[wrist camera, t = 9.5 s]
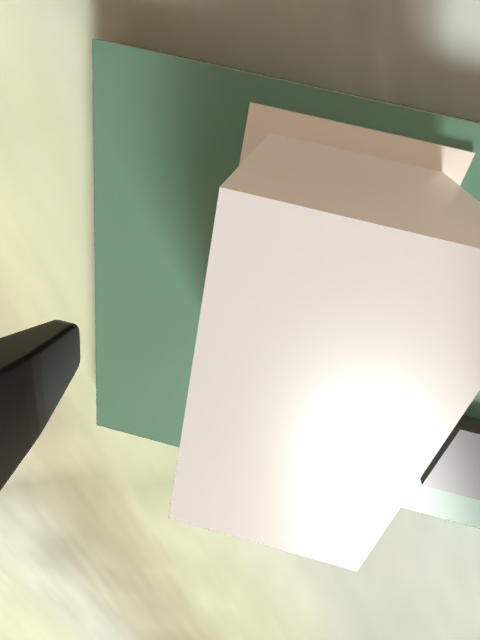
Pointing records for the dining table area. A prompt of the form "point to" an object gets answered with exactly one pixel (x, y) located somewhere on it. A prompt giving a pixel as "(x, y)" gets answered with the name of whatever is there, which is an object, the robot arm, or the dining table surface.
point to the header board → (198, 221)
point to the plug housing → (327, 347)
